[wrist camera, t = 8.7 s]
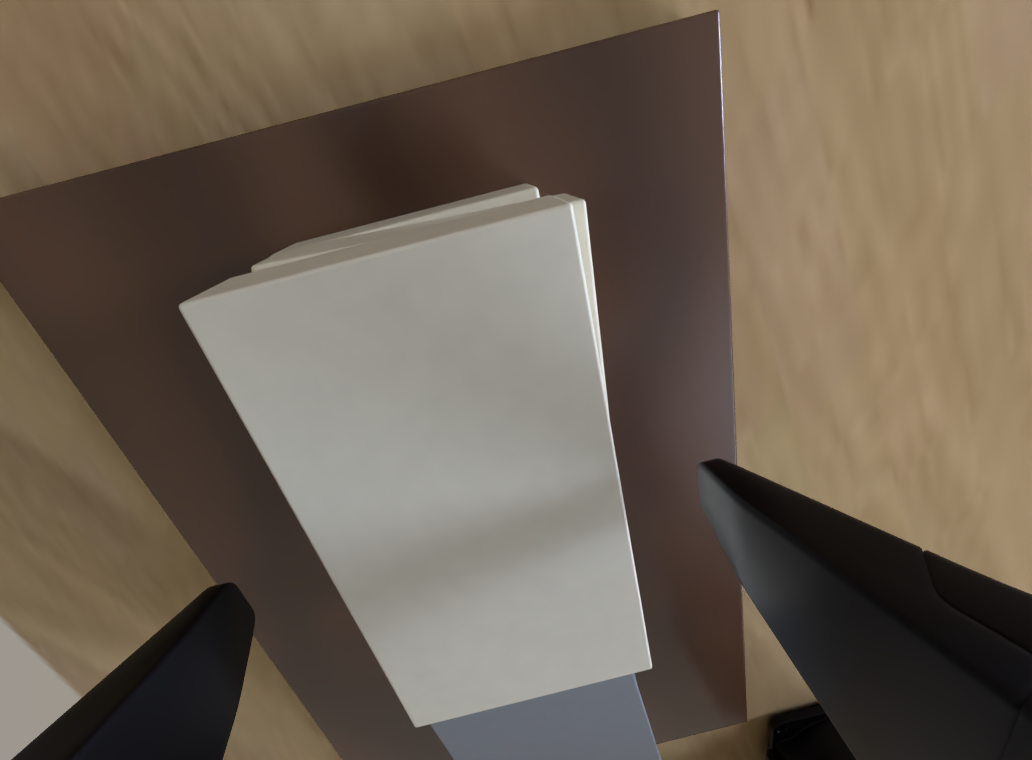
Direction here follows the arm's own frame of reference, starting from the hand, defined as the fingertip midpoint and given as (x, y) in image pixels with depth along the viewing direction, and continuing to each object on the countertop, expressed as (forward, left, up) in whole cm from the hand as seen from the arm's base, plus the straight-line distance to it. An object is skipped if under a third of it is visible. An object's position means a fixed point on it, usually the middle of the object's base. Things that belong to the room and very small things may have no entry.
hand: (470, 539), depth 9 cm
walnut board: (+1, +6, -7) cm, 9 cm away
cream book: (0, 0, -2) cm, 2 cm away
